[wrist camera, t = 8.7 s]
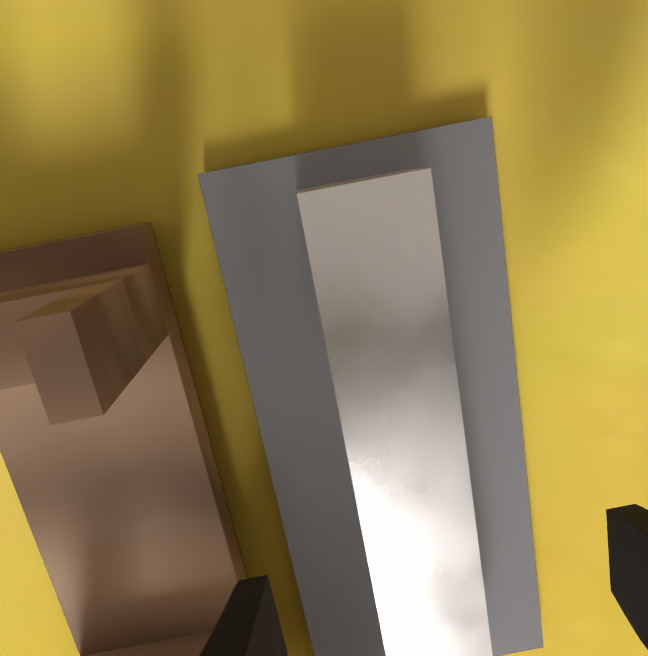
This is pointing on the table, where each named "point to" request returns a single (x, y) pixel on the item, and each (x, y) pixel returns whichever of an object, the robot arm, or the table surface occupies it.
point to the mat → (318, 389)
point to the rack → (112, 445)
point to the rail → (400, 406)
